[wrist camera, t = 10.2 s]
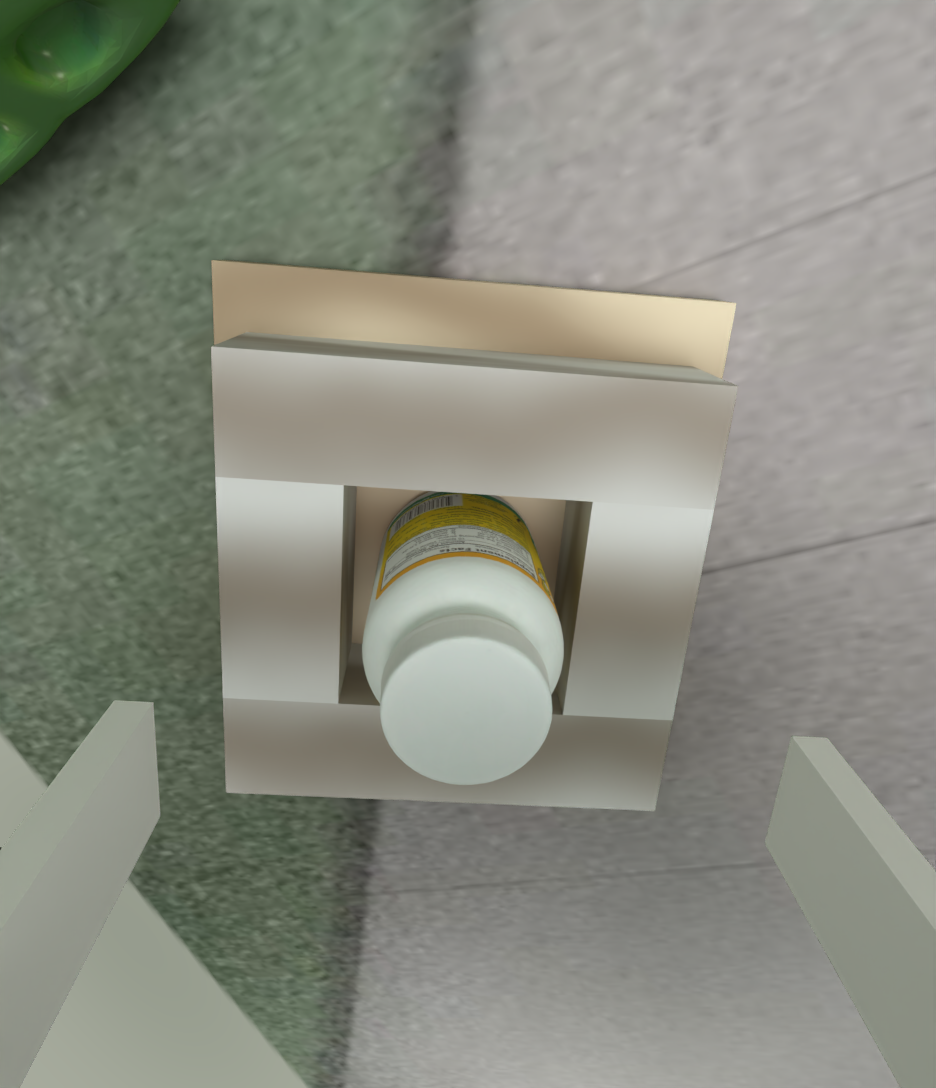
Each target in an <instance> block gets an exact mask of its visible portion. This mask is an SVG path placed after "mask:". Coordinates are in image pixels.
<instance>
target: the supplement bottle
mask: <svg viewBox="0 0 936 1088" xmlns="http://www.w3.org/2000/svg"><path fill="white" fill-rule="evenodd" d="M362 657H363V665H364V670H365V674H366V677H367V680H368V683H369V685H370V688H371V690H372V692H373V694H374V695H375V697H376V699H377V700H378V702H379V703H380V719H381V724H382V729H383V732H384V735H385V737H386V739H387V741H388V743H389V745H390V747H391V748H392V750H393V751H394V753H395V754H396V755H397V756H398V757H399V758H400V759H401V760H402V761H403V762H404V763H405V764H406V765H407V766H409V767H410V768H411V769H413V770H414V771H416V772H418V773H419V774H421V775H423V776H425V777H428V778H430V779H433V780H436V781H440V782H444V783H448V784H456V785H475V784H483V783H488V782H492V781H495V780H498V779H500V778H503V777H505V776H507V775H510V774H511V773H513V772H515V771H516V770H518V769H520V768H521V767H523V766H524V765H525V764H526V763H527V762H528V761H529V760H530V759H531V758H532V757H533V756H534V755H535V754H536V753H537V752H538V750H539V749H540V747H541V746H542V744H543V742H544V741H545V739H546V736H547V734H548V731H549V728H550V725H551V721H552V697H551V694H552V693H553V691H554V689H555V687H556V685H557V682H558V680H559V677H560V674H561V670H562V664H563V657H564V640H563V634H562V628H561V624H560V621H559V617H558V614H557V610H556V607H555V604H554V600H553V598H552V595H551V592H550V589H549V585H548V582H547V579H546V576H545V573H544V570H543V567H542V564H541V561H540V558H539V554H538V552H537V549H536V546H535V543H534V540H533V539H532V536H531V533H530V531H529V529H528V526H527V524H526V522H525V521H524V519H523V518H522V516H521V515H520V514H519V513H518V512H517V510H516V509H515V508H514V507H512V506H511V505H510V504H509V503H507V502H506V501H505V500H503V499H502V498H500V497H498V496H496V495H483V494H468V493H453V492H438V491H431V492H428V493H425V494H423V495H421V496H419V497H417V498H416V499H414V500H413V501H411V502H410V503H408V504H407V505H406V506H405V507H404V508H403V509H402V510H401V511H400V512H399V513H398V514H397V515H396V516H395V518H394V519H393V520H392V522H391V523H390V525H389V527H388V529H387V531H386V533H385V535H384V538H383V541H382V545H381V549H380V553H379V558H378V564H377V569H376V574H375V579H374V585H373V590H372V595H371V600H370V605H369V609H368V614H367V618H366V623H365V628H364V634H363V642H362Z"/></svg>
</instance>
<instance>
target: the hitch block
mask: <svg viewBox="0 0 936 1088" xmlns="http://www.w3.org/2000/svg"><path fill="white" fill-rule="evenodd" d="M211 261H212V291H213V322H214V345H213V346H211V360H212V390H213V419H214V449H215V479H216V508H217V538H218V567H219V597H220V626H221V656H222V686H223V715H224V745H225V774H226V793H246V794H269V795H293V796H316V797H339V798H362V799H386V800H409V801H432V802H455V803H479V804H502V805H525V806H549V807H572V808H595V809H618V810H642V811H655V807H656V802H657V797H658V792H659V787H660V782H661V777H662V772H663V767H664V762H665V757H666V752H667V746H668V741H669V736H670V731H671V726H672V721H673V716H674V711H675V706H676V701H677V696H678V690H679V685H680V680H681V675H682V670H683V665H684V660H685V655H686V650H687V645H688V640H689V635H690V629H691V624H692V619H693V614H694V609H695V604H696V599H697V594H698V589H699V584H700V579H701V574H702V568H703V563H704V558H705V553H706V548H707V543H708V538H709V533H710V528H711V523H712V518H713V512H714V507H715V502H716V497H717V492H718V487H719V482H720V477H721V472H722V467H723V462H724V457H725V451H726V446H727V441H728V436H729V431H730V426H731V421H732V416H733V411H734V406H735V401H736V396H737V390H738V386H736V385H734V384H732V383H729V382H727V381H725V380H723V379H722V377H723V372H724V367H725V361H726V356H727V351H728V345H729V340H730V335H731V330H732V324H733V319H734V314H735V308H736V303H732V302H726V301H719V300H707V299H695V298H682V297H670V296H658V295H646V294H634V293H622V292H609V291H597V290H585V289H573V288H561V287H549V286H536V285H524V284H512V283H500V282H488V281H476V280H463V279H451V278H439V277H427V276H415V275H403V274H390V273H378V272H366V271H354V270H342V269H330V268H318V267H305V266H293V265H281V264H269V263H257V262H245V261H232V260H211ZM431 491H438V492H453V493H468V494H483V495H496V496H498V497H500V498H502V499H503V500H505V501H506V502H507V503H509V504H510V505H511V506H512V507H514V508H515V509H516V510H517V512H518V513H519V514H520V515H521V516H522V518H523V519H524V521H525V522H526V524H527V526H528V529H529V531H530V533H531V536H532V539H533V540H534V543H535V546H536V549H537V552H538V554H539V558H540V561H541V564H542V567H543V570H544V573H545V576H546V579H547V582H548V585H549V589H550V592H551V595H552V598H553V600H554V604H555V607H556V610H557V614H558V617H559V621H560V624H561V628H562V634H563V640H564V657H563V664H562V670H561V674H560V677H559V680H558V682H557V685H556V687H555V689H554V691H553V693H552V694H551V697H552V721H551V725H550V728H549V731H548V734H547V736H546V739H545V741H544V742H543V744H542V746H541V747H540V749H539V750H538V752H537V753H536V754H535V755H534V756H533V757H532V758H531V759H530V760H529V761H528V762H527V763H526V764H525V765H524V766H523V767H521V768H520V769H518V770H516V771H515V772H513V773H511V774H510V775H507V776H505V777H503V778H500V779H498V780H495V781H492V782H488V783H483V784H475V785H456V784H448V783H444V782H440V781H436V780H433V779H430V778H428V777H425V776H423V775H421V774H419V773H418V772H416V771H414V770H413V769H411V768H410V767H409V766H407V765H406V764H405V763H404V762H403V761H402V760H401V759H400V758H399V757H398V756H397V755H396V754H395V753H394V751H393V750H392V748H391V747H390V745H389V743H388V741H387V739H386V737H385V735H384V732H383V729H382V724H381V719H380V703H379V702H378V700H377V699H376V697H375V695H374V694H373V692H372V690H371V688H370V685H369V683H368V680H367V677H366V674H365V670H364V665H363V657H362V642H363V634H364V628H365V623H366V618H367V614H368V609H369V605H370V600H371V595H372V590H373V585H374V579H375V574H376V569H377V564H378V558H379V553H380V549H381V545H382V541H383V538H384V535H385V533H386V531H387V529H388V527H389V525H390V523H391V522H392V520H393V519H394V518H395V516H396V515H397V514H398V513H399V512H400V511H401V510H402V509H403V508H404V507H405V506H406V505H407V504H408V503H410V502H411V501H413V500H414V499H416V498H417V497H419V496H421V495H423V494H425V493H428V492H431Z"/></svg>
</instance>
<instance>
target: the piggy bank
mask: <svg viewBox="0 0 936 1088" xmlns="http://www.w3.org/2000/svg"><path fill="white" fill-rule="evenodd" d="M179 1H180V0H0V185H1V184H3V183H4V182H5V181H6V180H7V179H8V178H10V177H11V176H12V175H13V174H14V173H15V172H17V171H18V170H19V169H20V168H21V167H22V166H24V165H25V164H26V163H27V162H28V161H29V160H30V159H31V158H32V157H33V156H34V155H36V154H37V153H38V152H39V151H40V150H41V149H42V147H43V146H44V145H45V144H46V143H47V142H48V141H49V140H50V139H51V137H52V136H53V134H54V133H55V132H56V130H57V129H58V127H59V126H60V125H61V124H62V122H63V121H64V120H65V119H66V118H67V117H68V116H70V115H71V114H73V113H74V112H75V111H77V110H78V109H80V108H81V107H82V106H84V105H85V104H86V103H88V102H89V101H91V100H92V99H93V98H95V97H96V96H98V95H99V94H100V93H102V92H103V91H104V90H105V89H106V88H107V87H108V86H109V85H110V84H111V83H112V82H113V81H114V80H115V79H116V77H117V76H118V75H119V74H120V73H121V72H122V71H123V70H124V69H125V68H126V67H127V66H128V65H129V64H130V63H131V62H132V61H133V60H134V59H135V58H136V57H137V56H138V55H139V54H140V53H141V52H142V51H143V50H144V49H145V48H146V46H147V45H148V44H149V43H150V42H151V40H152V39H153V38H154V37H155V36H156V34H157V33H158V32H159V31H160V30H161V29H162V27H163V26H164V24H165V23H166V21H167V20H168V18H169V17H170V15H171V14H172V12H173V11H174V9H175V8H176V6H177V4H178V3H179Z"/></svg>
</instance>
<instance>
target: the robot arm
mask: <svg viewBox="0 0 936 1088" xmlns="http://www.w3.org/2000/svg"><path fill="white" fill-rule="evenodd" d="M159 818H160V801H159V785H158V770H157V754H156V738H155V722H154V706H153V702H137V701H118V700H114V701H113V703H112V704H111V705H110V707H109V708H108V709H107V711H106V712H105V713H104V714H103V716H102V717H101V718H100V720H99V721H98V722H97V724H96V725H95V726H94V728H93V729H92V730H91V732H90V733H89V734H88V735H87V737H86V738H85V739H84V741H83V742H82V743H81V745H80V746H79V747H78V749H77V750H76V751H75V752H74V754H73V755H72V756H71V758H70V759H69V760H68V762H67V763H66V764H65V766H64V767H63V768H62V770H61V771H60V772H59V773H58V775H57V776H56V777H55V779H54V780H53V781H52V783H51V784H50V785H49V787H48V788H47V789H46V791H45V792H44V793H43V794H42V796H41V797H40V798H39V800H38V801H37V803H36V804H35V805H34V806H33V808H32V809H31V810H30V812H29V813H28V814H27V815H26V817H25V818H24V819H23V821H22V822H21V824H20V825H19V826H18V827H17V829H16V830H15V831H14V833H13V834H12V835H11V836H10V838H9V839H8V840H7V842H6V843H5V844H4V846H3V847H2V848H1V847H0V1088H20V1086H21V1084H22V1082H23V1080H24V1078H25V1077H26V1075H27V1073H28V1071H29V1069H30V1067H31V1065H32V1063H33V1061H34V1059H35V1057H36V1055H37V1053H38V1051H39V1049H40V1048H41V1046H42V1044H43V1042H44V1040H45V1038H46V1036H47V1034H48V1032H49V1030H50V1028H51V1026H52V1024H53V1022H54V1021H55V1019H56V1017H57V1015H58V1013H59V1011H60V1009H61V1007H62V1005H63V1003H64V1001H65V999H66V997H67V995H68V993H69V991H70V990H71V988H72V986H73V984H74V982H75V980H76V978H77V976H78V974H79V972H80V970H81V968H82V966H83V964H84V962H85V961H86V959H87V957H88V955H89V953H90V951H91V949H92V947H93V945H94V943H95V941H96V939H97V937H98V936H99V934H100V932H101V930H102V928H103V926H104V924H105V922H106V920H107V918H108V916H109V914H110V912H111V910H112V908H113V906H114V905H115V903H116V901H117V899H118V897H119V895H120V893H121V891H122V889H123V887H124V885H125V883H126V881H127V879H128V878H129V876H130V874H131V872H132V870H133V868H134V866H135V864H136V862H137V860H138V858H139V856H140V854H141V852H142V851H143V849H144V847H145V845H146V843H147V841H148V839H149V837H150V835H151V833H152V831H153V829H154V827H155V825H156V823H157V822H158V820H159ZM765 845H766V846H767V848H768V850H769V852H770V854H771V855H772V857H773V859H774V861H775V863H776V864H777V866H778V868H779V870H780V872H781V873H782V875H783V877H784V879H785V881H786V882H787V884H788V886H789V888H790V890H791V891H792V893H793V895H794V897H795V899H796V900H797V902H798V904H799V906H800V908H801V909H802V911H803V913H804V915H805V917H806V918H807V920H808V922H809V924H810V926H811V927H812V929H813V931H814V933H815V935H816V936H817V938H818V940H819V942H820V944H821V945H822V947H823V949H824V951H825V953H826V954H827V956H828V958H829V960H830V962H831V963H832V965H833V967H834V969H835V971H836V972H837V974H838V976H839V978H840V980H841V981H842V983H843V985H844V987H845V989H846V990H847V992H848V994H849V996H850V998H851V999H852V1001H853V1003H854V1005H855V1007H856V1008H857V1010H858V1012H859V1014H860V1016H861V1017H862V1019H863V1021H864V1023H865V1025H866V1026H867V1028H868V1030H869V1032H870V1034H871V1035H872V1037H873V1039H874V1041H875V1043H876V1044H877V1046H878V1048H879V1050H880V1051H881V1053H882V1055H883V1057H884V1059H885V1060H886V1062H887V1064H888V1066H889V1068H890V1069H891V1071H892V1073H893V1075H894V1077H895V1078H896V1080H897V1082H898V1084H899V1086H900V1087H901V1088H936V871H935V870H934V869H933V867H932V866H931V865H930V864H929V863H928V861H927V860H926V859H925V858H924V856H923V855H922V854H921V853H920V852H919V850H918V849H917V848H916V847H915V845H914V844H913V843H912V842H911V840H910V839H909V838H908V837H907V836H906V834H905V833H904V832H903V831H902V829H901V828H900V827H899V826H898V824H897V823H896V822H895V821H894V820H893V818H892V817H891V816H890V815H889V813H888V812H887V811H886V810H885V808H884V807H883V806H882V805H881V804H880V802H879V801H878V800H877V799H876V797H875V796H874V795H873V794H872V792H871V791H870V790H869V789H868V788H867V786H866V785H865V784H864V783H863V781H862V780H861V779H860V778H859V776H858V775H857V774H856V773H855V772H854V770H853V769H852V768H851V767H850V765H849V764H848V763H847V762H846V760H845V759H844V758H843V757H842V756H841V754H840V753H839V752H838V751H837V749H836V748H835V747H834V746H833V745H832V743H831V742H830V741H829V740H828V738H821V737H802V736H791V740H790V744H789V748H788V752H787V756H786V760H785V764H784V768H783V772H782V776H781V780H780V784H779V788H778V792H777V796H776V800H775V804H774V808H773V812H772V816H771V820H770V824H769V828H768V832H767V836H766V840H765Z"/></svg>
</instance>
